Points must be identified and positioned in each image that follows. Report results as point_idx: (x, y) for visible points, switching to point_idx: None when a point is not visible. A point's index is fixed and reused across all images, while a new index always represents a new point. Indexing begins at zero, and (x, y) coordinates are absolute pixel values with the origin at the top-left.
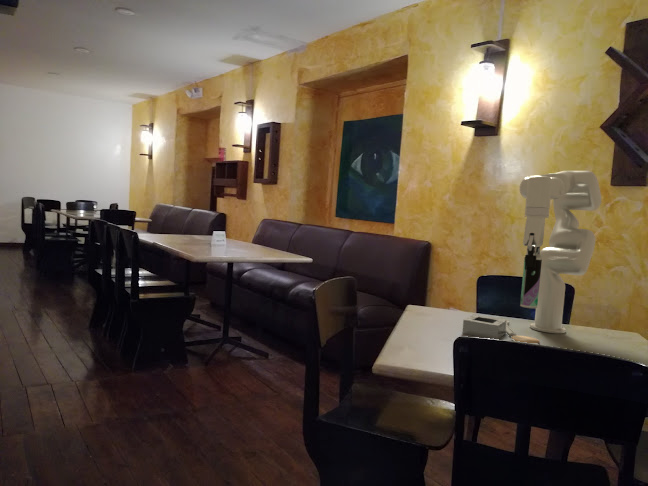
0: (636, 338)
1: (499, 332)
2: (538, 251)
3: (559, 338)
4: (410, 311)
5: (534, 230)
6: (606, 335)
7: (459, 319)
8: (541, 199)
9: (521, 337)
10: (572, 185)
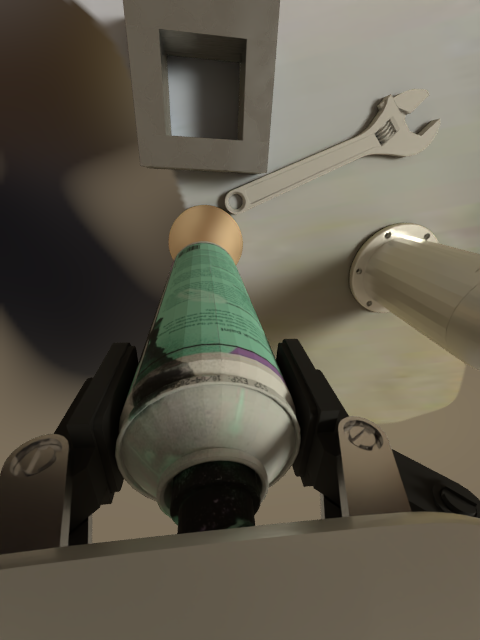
0: (403, 415)
1: (173, 168)
2: (321, 515)
3: (305, 307)
4: None
5: None
6: (401, 376)
7: None
8: None
9: (216, 232)
10: None
